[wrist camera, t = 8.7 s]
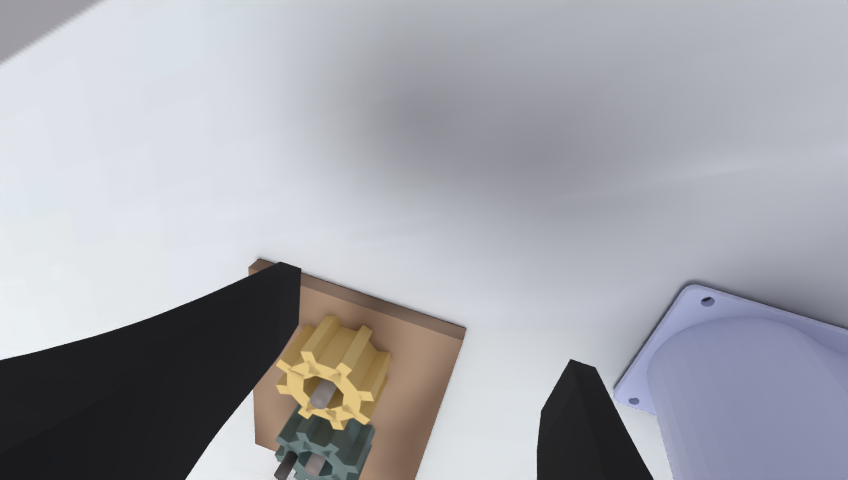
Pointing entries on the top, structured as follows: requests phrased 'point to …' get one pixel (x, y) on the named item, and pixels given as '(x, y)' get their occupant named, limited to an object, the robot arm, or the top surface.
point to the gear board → (396, 409)
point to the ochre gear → (335, 371)
